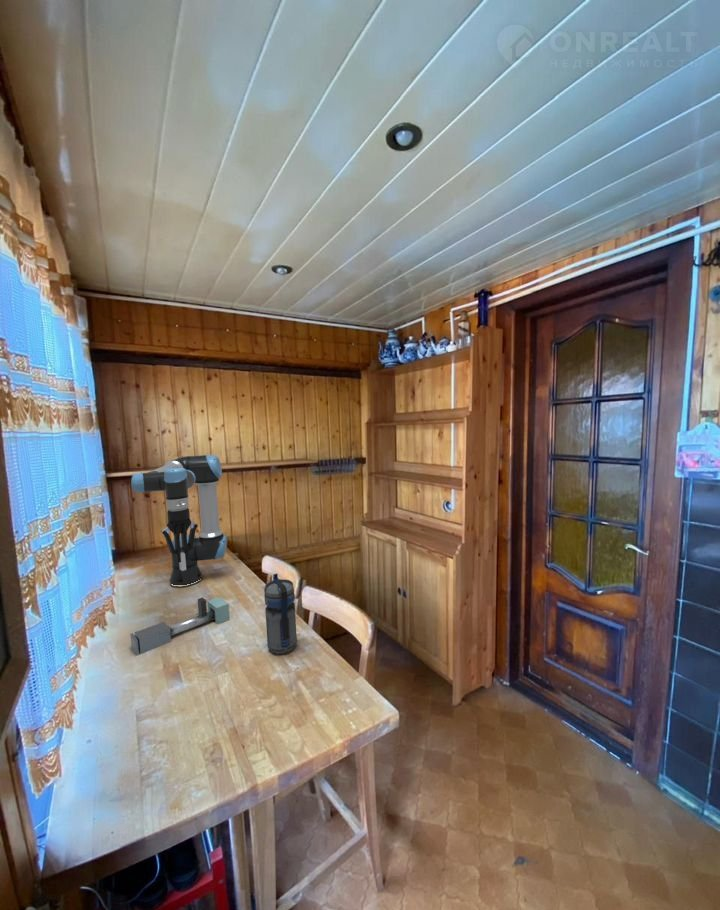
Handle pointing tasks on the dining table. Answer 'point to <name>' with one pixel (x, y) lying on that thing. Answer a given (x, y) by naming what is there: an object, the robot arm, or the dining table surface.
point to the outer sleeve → (150, 638)
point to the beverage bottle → (280, 615)
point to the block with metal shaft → (194, 619)
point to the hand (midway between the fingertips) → (183, 569)
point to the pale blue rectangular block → (219, 609)
